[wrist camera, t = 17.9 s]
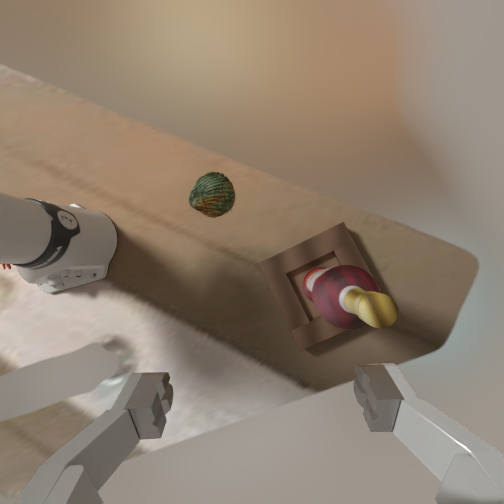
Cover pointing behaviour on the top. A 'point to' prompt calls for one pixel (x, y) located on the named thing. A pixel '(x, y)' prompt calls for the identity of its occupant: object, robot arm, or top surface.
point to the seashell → (212, 194)
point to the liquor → (349, 297)
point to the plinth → (292, 276)
